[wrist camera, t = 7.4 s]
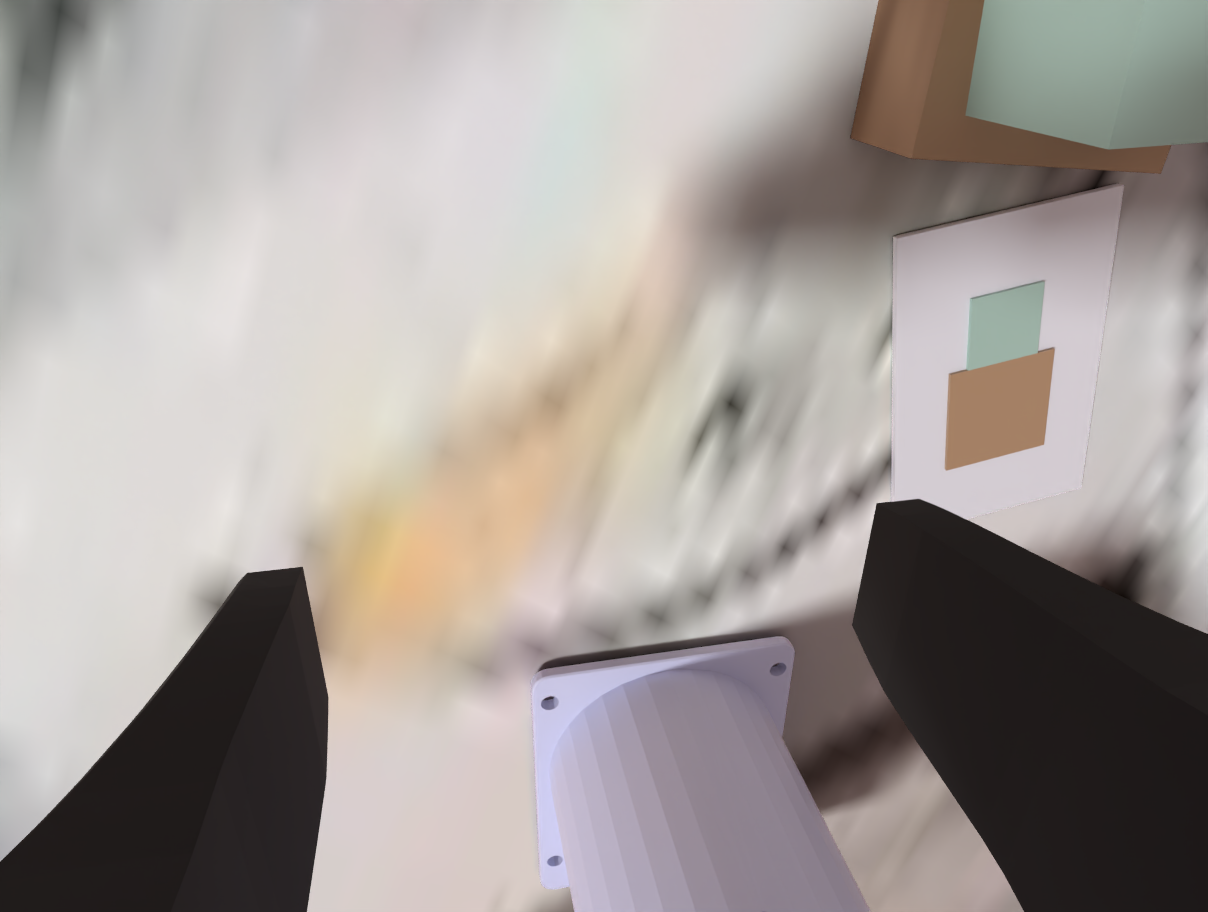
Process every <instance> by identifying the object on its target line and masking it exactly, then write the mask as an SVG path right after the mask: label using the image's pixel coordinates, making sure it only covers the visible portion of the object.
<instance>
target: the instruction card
mask: <svg viewBox="0 0 1208 912" xmlns="http://www.w3.org/2000/svg"><path fill="white" fill-rule="evenodd" d="M1123 191H1124V185H1123V184H1119V183H1118V184H1114V185H1109V186H1105V187H1101V188H1097V189H1092V190H1088V191H1084V192H1080V193H1075V194H1071V195H1067V196H1063V197H1058V198H1054V199H1050V200H1046V201H1041V202H1037V203H1033V204H1029V205H1024V206H1020V207H1016V208H1012V209H1007V210H1003V211H999V212H995V213H990V214H986V215H982V216H978V217H973V218H969V219H965V220H961V221H956V222H952V223H948V224H944V225H939V226H935V227H931V228H927V229H922V230H918V231H914V232H910V233H905V234H901V235H897V236H893V326H892V477H891V502H894V501H903V500H912V499H921V500H924V501H926V502H929V503H931V504H934V505H936V506H938V507H941V508H943V509H945V510H947V511H950V512H952V513H954V514H956V515H958V516H960V517H962V518H964V519H966V520H967V519H970V518H974V517H978V516H981V515H985V514H989V513H992V512H996V511H1000V510H1003V509H1007V508H1011V507H1014V506H1018V505H1022V504H1025V503H1029V502H1033V501H1036V500H1040V499H1044V498H1047V497H1051V496H1055V495H1058V494H1062V493H1066V492H1069V491H1073V490H1077V489H1080V488H1081V487H1082V480H1083V473H1084V466H1085V459H1086V452H1087V445H1088V438H1089V431H1090V424H1091V417H1092V410H1093V403H1094V395H1095V388H1096V381H1097V374H1098V367H1099V360H1100V353H1101V346H1102V339H1103V332H1104V325H1105V318H1106V311H1107V304H1108V297H1109V289H1110V282H1111V275H1112V268H1113V261H1114V254H1115V247H1116V240H1117V233H1118V226H1119V219H1120V212H1121V205H1122V198H1123Z"/></svg>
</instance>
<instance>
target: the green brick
mask: <svg viewBox="0 0 1208 912" xmlns="http://www.w3.org/2000/svg"><path fill="white" fill-rule="evenodd" d="M965 116H969V117H974V118H978V119H982V120H986V121H990V122H995V123H999V124H1003V125H1007V126H1011V127H1016V128H1020V129H1024V130H1028V131H1032V132H1037V133H1041V134H1045V135H1049V136H1053V137H1058V138H1062V139H1066V140H1070V141H1074V142H1079V143H1083V144H1087V145H1091V146H1095V147H1100V148H1104V149H1108V150H1110V149H1123V148H1137V147H1150V146H1163V145H1177V144H1190V143H1204V142H1208V0H984V6H983V12H982V18H981V24H980V30H979V36H978V42H977V48H976V54H975V60H974V66H973V72H972V78H971V84H970V90H969V96H968V102H967V108H966V115H965Z"/></svg>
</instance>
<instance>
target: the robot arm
mask: <svg viewBox="0 0 1208 912" xmlns="http://www.w3.org/2000/svg"><path fill="white" fill-rule="evenodd" d="M852 626H853V628H854V630H855V632H856V634H857V637H858V639H859V641H860V643H861V645H862V647H863V650H864V652H865V654H866V656H867V658H868V660H869V663H870V664H871V666H872V668H873V670H874V672H875V674H876V676H877V678H878V680H879V682H880V684H881V686H882V688H883V690H884V692H885V693H886V695H887V697H888V698H889V700H890V701H891V703H892V704H893V706H894V708H895V709H896V711H897V712H898V714H899V715H900V717H901V718H902V720H903V721H904V723H905V724H906V726H907V727H908V729H909V730H910V732H911V733H912V735H913V736H914V738H915V739H916V741H917V743H918V744H919V745H920V747H921V748H922V750H923V751H924V753H925V754H926V756H927V757H928V759H929V760H930V762H931V763H932V765H933V766H934V768H935V769H936V771H937V772H938V774H939V775H940V777H941V778H942V780H943V781H944V783H945V784H946V786H947V787H948V789H949V790H950V792H951V793H952V795H953V796H954V797H955V799H956V800H957V802H958V803H959V805H960V806H961V808H962V809H963V811H964V812H965V814H966V815H967V817H968V818H969V820H970V821H971V823H972V824H973V826H974V827H975V829H976V830H977V832H978V833H979V835H980V836H981V838H982V839H983V841H984V842H985V844H986V846H987V847H988V849H989V851H990V852H991V854H992V855H993V857H994V859H995V860H996V862H997V863H998V865H999V867H1000V868H1001V870H1002V872H1003V873H1004V875H1005V877H1006V879H1007V881H1008V882H1009V884H1010V886H1011V888H1012V890H1013V892H1014V893H1015V895H1016V897H1017V899H1018V901H1019V903H1020V905H1021V906H1022V908H1023V910H1024V912H1208V634H1206V633H1204V632H1201V631H1199V630H1196V629H1194V628H1192V627H1189V626H1187V625H1184V624H1182V623H1180V622H1177V621H1175V620H1173V619H1171V618H1169V617H1166V616H1164V615H1162V614H1160V613H1157V612H1155V611H1153V610H1151V609H1149V608H1146V607H1144V606H1142V605H1140V604H1137V603H1135V602H1133V601H1131V600H1128V599H1126V598H1124V597H1122V596H1120V595H1118V594H1116V593H1113V592H1111V591H1109V590H1107V589H1105V588H1103V587H1101V586H1099V585H1097V584H1095V583H1092V582H1090V581H1088V580H1086V579H1084V578H1082V577H1080V576H1078V575H1076V574H1074V573H1072V572H1070V571H1068V570H1066V569H1064V568H1062V567H1060V566H1058V565H1056V564H1054V563H1052V562H1050V561H1048V560H1046V559H1044V558H1042V557H1040V556H1038V555H1036V554H1034V553H1032V552H1030V551H1028V550H1026V549H1024V548H1022V547H1020V546H1018V545H1016V544H1014V543H1012V542H1010V541H1008V540H1006V539H1004V538H1002V537H1000V536H998V535H997V534H995V533H993V532H991V531H989V530H987V529H985V528H983V527H981V526H979V525H977V524H975V523H972V522H970V521H968V520H966V519H964V518H962V517H960V516H958V515H956V514H954V513H952V512H950V511H947V510H945V509H943V508H941V507H938V506H936V505H934V504H931V503H929V502H926V501H924V500H921V499H912V500H903V501H894V502H885V503H877V505H876V510H875V515H874V520H873V525H872V530H871V534H870V539H869V544H868V549H867V554H866V559H865V564H864V569H863V574H862V579H861V584H860V589H859V594H858V599H857V604H856V609H855V614H854V618H853V623H852ZM794 656H795V650H794V647H793V646H792V644H791V642H790V641H789V640H788V638H785V637H783V636H776V637H769V638H762V639H755V640H748V641H741V642H733V643H726V644H719V645H712V646H705V647H698V648H691V649H684V650H676V651H669V652H662V653H655V654H648V655H641V656H634V657H627V658H620V659H612V660H605V661H598V662H591V663H584V664H577V665H570V666H563V667H555V668H548V669H544V670H541V671H539V672H538V673H536V674H535V675H534V677H533V678H532V680H531V705H532V726H533V747H534V769H535V790H536V812H537V833H538V855H539V875H540V881H541V884H542V886H543V887H545V888H547V889H559V888H565V887H570V891H571V896H572V902H573V907H574V912H871V911H870V909H869V907H868V905H867V903H866V901H865V899H864V897H863V895H862V893H861V891H860V889H859V887H858V885H857V883H856V881H855V879H854V878H853V876H852V874H851V872H850V870H849V868H848V866H847V864H846V862H845V860H844V858H843V856H842V854H841V852H840V850H839V848H838V846H837V844H836V842H835V840H834V838H833V836H832V834H831V833H830V831H829V829H828V827H827V825H826V823H825V821H824V819H823V817H822V815H821V813H820V811H819V809H818V807H817V805H816V803H815V801H814V799H813V797H812V795H811V793H810V791H809V790H808V788H807V786H806V784H805V782H804V780H803V778H802V776H801V774H800V772H799V770H798V768H797V766H796V764H795V762H794V760H793V758H792V756H791V754H790V752H789V750H788V748H787V746H786V745H785V743H784V741H783V739H782V737H783V730H784V724H785V717H786V710H787V703H788V696H789V690H790V683H791V676H792V669H793V662H794ZM777 663H779V664H778V665H777V666H774V667H772V666H773V665H774V664H777ZM549 696H554V698H553V699H550V700H543V699H544V698H546V697H549ZM327 742H328V693H327V688H326V683H325V678H324V673H323V668H322V663H321V658H320V652H319V647H318V642H317V637H316V632H315V627H314V622H313V617H312V612H311V607H310V602H309V596H308V591H307V586H306V581H305V576H304V571H303V567H298V568H289V569H280V570H270V571H261V572H252V573H247V574H246V575H245V576H244V577H243V578H242V579H241V580H240V581H239V582H238V584H237V585H236V586H235V588H234V589H233V591H232V592H231V593H230V595H229V596H228V597H227V599H226V600H225V602H224V603H223V604H222V606H221V607H220V608H219V610H218V611H217V613H216V614H215V615H214V617H213V618H212V620H211V621H210V622H209V624H208V625H207V626H206V628H205V629H204V630H203V632H202V633H201V634H200V636H199V637H198V638H197V640H196V641H195V642H194V644H193V645H192V646H191V648H190V649H189V650H188V652H187V653H186V654H185V656H184V657H183V658H182V660H181V661H180V662H179V663H178V665H177V666H176V667H175V669H174V670H173V671H172V672H171V674H170V675H169V676H168V677H167V679H166V680H165V681H164V682H163V684H162V685H161V686H160V687H159V689H158V690H157V691H156V692H155V694H154V695H153V696H152V698H151V699H150V700H149V701H148V703H147V704H146V705H145V706H144V708H143V709H142V710H141V711H140V712H139V714H138V715H137V716H136V717H135V718H134V720H133V721H132V722H131V723H130V724H129V725H128V727H127V728H126V729H125V730H124V731H123V732H122V733H121V734H120V736H119V737H118V738H117V739H116V740H115V741H114V742H113V744H112V745H111V746H110V747H109V748H108V749H107V750H106V752H105V753H104V754H103V755H102V756H101V757H100V758H99V760H98V761H97V762H96V763H95V764H94V765H93V766H92V767H91V769H90V770H89V771H88V772H87V773H86V774H85V775H84V777H83V778H82V779H81V780H80V781H79V782H78V783H77V784H76V785H75V786H74V788H73V789H72V790H71V791H70V792H69V793H68V794H67V795H66V796H65V797H64V798H63V799H62V800H61V801H60V802H59V803H58V804H57V805H56V807H55V808H54V809H53V810H52V811H51V812H50V813H49V814H48V815H47V816H46V817H45V818H44V819H43V820H42V821H41V822H40V823H39V824H38V825H37V826H36V827H35V828H34V829H33V830H32V831H31V832H30V833H29V834H28V835H27V836H26V837H25V838H24V839H23V840H22V841H21V842H20V843H19V844H18V845H17V846H16V847H15V848H14V849H13V850H12V851H11V852H10V853H9V854H8V855H7V856H6V857H5V858H4V859H3V860H2V861H1V862H0V912H307V906H308V900H309V893H310V886H311V880H312V873H313V866H314V860H315V853H316V846H317V840H318V833H319V826H320V819H321V812H322V805H323V798H324V791H325V784H326V771H327Z"/></svg>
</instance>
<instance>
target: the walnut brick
mask: <svg viewBox="0 0 1208 912" xmlns="http://www.w3.org/2000/svg"><path fill="white" fill-rule="evenodd" d="M983 6H984V0H879V1H878V6H877V11H876V15H875V20H874V25H873V30H872V35H871V40H870V45H869V49H868V54H867V59H866V64H865V69H864V74H863V78H862V83H861V88H860V93H859V98H858V103H857V107H856V112H855V117H854V122H853V127H852V132H851V137H850V138H852V139H855V140H858V141H861V142H863V143H866V144H869V145H872V146H875V147H878V148H881V149H884V150H887V151H890V152H893V153H896V154H899V155H902V156H905V157H908V158H911V159H925V160H942V161H959V162H975V163H992V164H1008V165H1025V166H1042V167H1058V168H1075V169H1092V170H1108V171H1125V172H1142V173H1158V174H1161V171H1162V169H1163V166H1164V163H1165V161H1166V158H1167V155H1168V153H1169V150H1170V147H1171V145H1163V146H1150V147H1137V148H1123V149H1110V150H1108V149H1104V148H1100V147H1095V146H1091V145H1087V144H1083V143H1079V142H1074V141H1070V140H1066V139H1062V138H1058V137H1053V136H1049V135H1045V134H1041V133H1037V132H1032V131H1028V130H1024V129H1020V128H1016V127H1011V126H1007V125H1003V124H999V123H995V122H990V121H986V120H982V119H978V118H974V117H969V116H965V115H966V108H967V102H968V96H969V90H970V84H971V78H972V72H973V66H974V60H975V54H976V48H977V42H978V36H979V30H980V24H981V18H982V12H983Z"/></svg>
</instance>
